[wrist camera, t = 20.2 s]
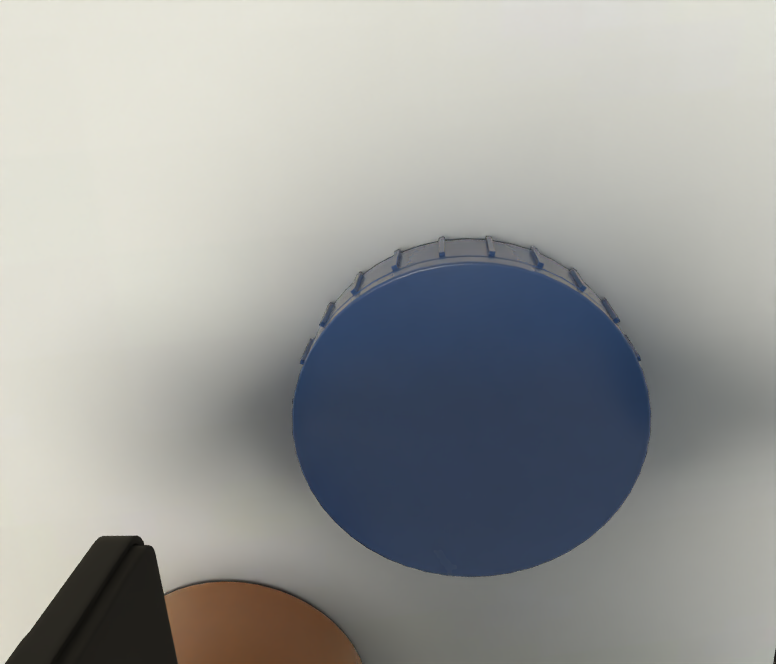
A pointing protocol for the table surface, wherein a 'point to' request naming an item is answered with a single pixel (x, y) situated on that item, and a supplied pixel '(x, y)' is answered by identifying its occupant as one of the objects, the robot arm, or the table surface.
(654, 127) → the table surface
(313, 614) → the jam jar
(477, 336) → the jar lid
